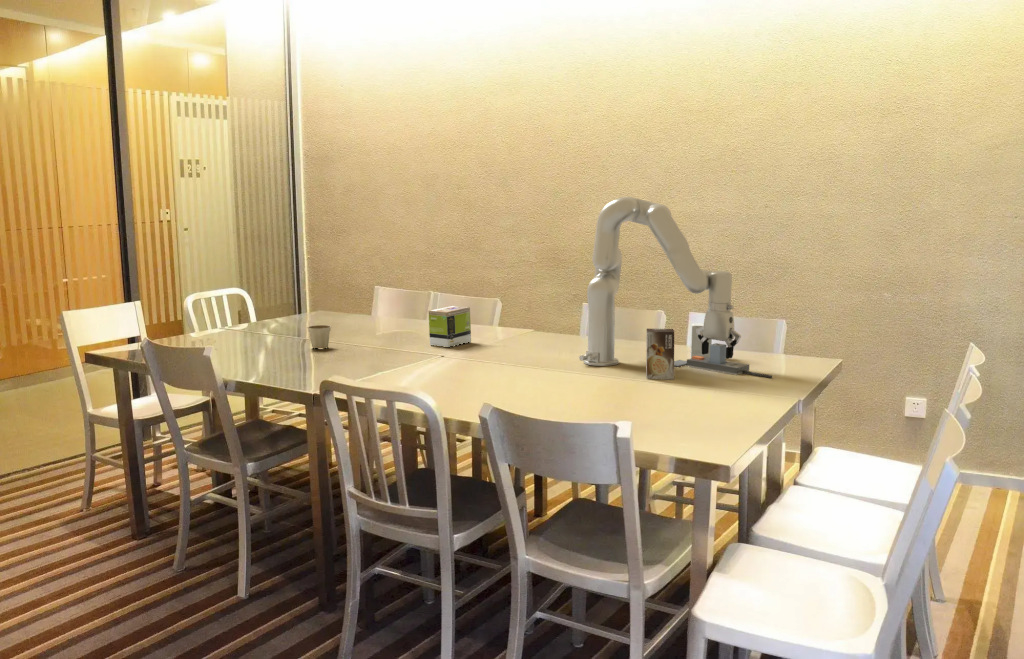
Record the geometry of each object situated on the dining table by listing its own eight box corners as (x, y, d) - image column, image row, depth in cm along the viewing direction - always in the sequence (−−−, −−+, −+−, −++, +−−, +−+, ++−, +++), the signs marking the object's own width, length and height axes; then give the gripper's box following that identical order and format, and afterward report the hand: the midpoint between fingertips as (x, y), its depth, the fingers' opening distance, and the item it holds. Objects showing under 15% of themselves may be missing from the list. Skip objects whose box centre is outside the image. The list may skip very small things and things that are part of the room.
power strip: (765, 380, 276) (766, 371, 275) (686, 366, 298) (686, 357, 297) (778, 376, 281) (778, 367, 281) (699, 362, 303) (699, 354, 303)
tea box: (452, 340, 351) (452, 305, 349) (471, 342, 345) (471, 306, 343) (428, 345, 339) (427, 309, 337) (448, 348, 333) (447, 311, 331)
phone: (678, 369, 296) (678, 366, 296) (663, 366, 300) (663, 363, 300) (693, 364, 303) (693, 361, 303) (679, 362, 307) (679, 359, 307)
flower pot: (337, 347, 337) (336, 326, 335) (320, 351, 329) (319, 329, 327) (320, 345, 342) (319, 324, 340) (303, 349, 334) (302, 327, 332)
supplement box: (711, 360, 308) (712, 326, 306) (690, 359, 309) (691, 325, 307) (710, 356, 315) (711, 322, 313) (690, 355, 317) (691, 322, 314)
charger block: (719, 369, 291) (720, 346, 289) (709, 367, 293) (709, 344, 292) (725, 367, 293) (726, 344, 292) (715, 365, 296) (716, 342, 295)
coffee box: (673, 375, 283) (674, 328, 281) (674, 380, 277) (675, 331, 274) (645, 375, 285) (646, 328, 282) (645, 379, 278) (646, 331, 276)
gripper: (747, 308, 286) (744, 358, 289) (704, 303, 299) (702, 351, 301) (735, 311, 281) (732, 361, 284) (691, 305, 293) (689, 353, 296)
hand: (716, 356), depth 293 cm, fingers open, 9 cm apart
